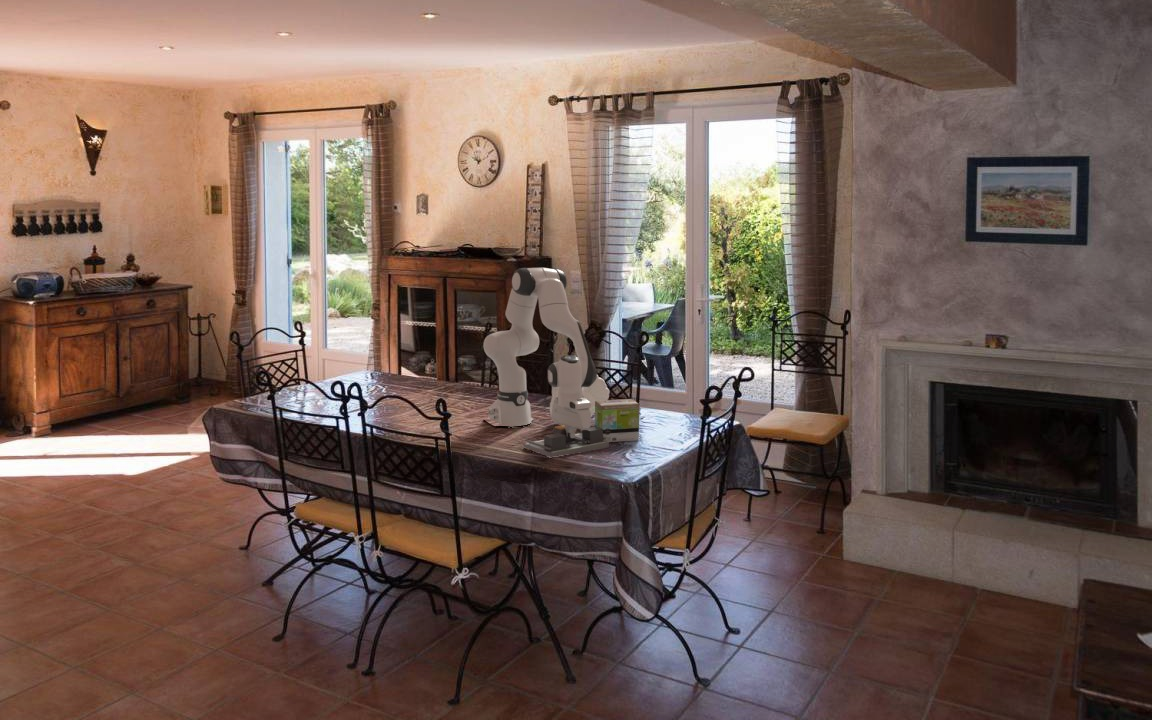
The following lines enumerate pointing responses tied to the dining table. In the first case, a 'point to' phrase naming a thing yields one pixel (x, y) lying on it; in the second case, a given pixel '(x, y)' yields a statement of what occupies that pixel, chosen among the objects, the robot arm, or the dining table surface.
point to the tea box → (618, 419)
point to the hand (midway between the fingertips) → (570, 437)
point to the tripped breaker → (563, 433)
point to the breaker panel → (558, 445)
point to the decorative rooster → (588, 394)
